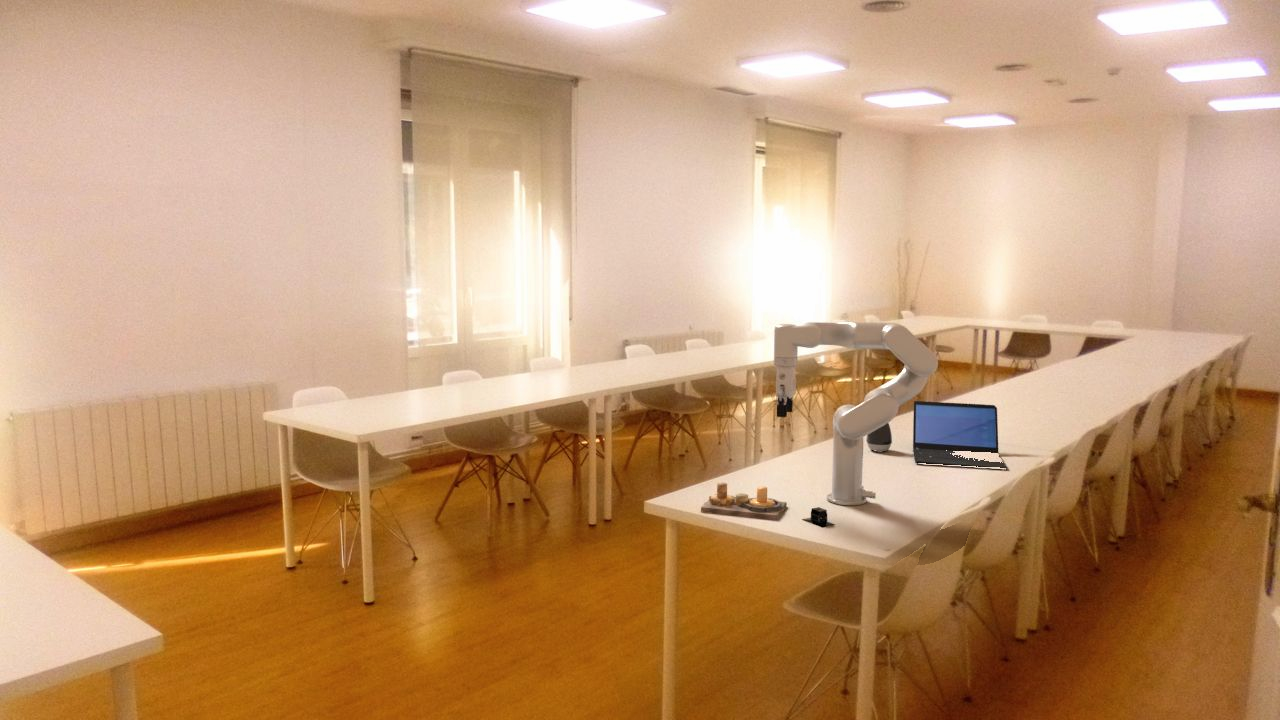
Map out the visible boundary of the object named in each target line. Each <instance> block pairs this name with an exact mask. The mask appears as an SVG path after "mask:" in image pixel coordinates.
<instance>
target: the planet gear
mask: <svg viewBox="0 0 1280 720" xmlns="http://www.w3.org/2000/svg"><path fill="white" fill-rule="evenodd" d="M753 498H754V499H752V500H749V505H750V506H754V507H764V508H766V507H773V506H775V502H774V500H770V499H767V498H768V487H767V486H757V487H756V497H753Z"/></svg>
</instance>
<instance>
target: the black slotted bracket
mask: <svg viewBox="0 0 1280 720" xmlns="http://www.w3.org/2000/svg"><path fill="white" fill-rule="evenodd" d="M801 520H802V521H804V522H807V523H808V524H812V525H814V526H817V527H820V528H822V529H823V528H829V527H833V526H836V524H835V523H832V522H830V521H828V510H827V509H825V508H822V507H819V506H818V507H812V508H811V511H810V517H807V518H802V519H801Z"/></svg>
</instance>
